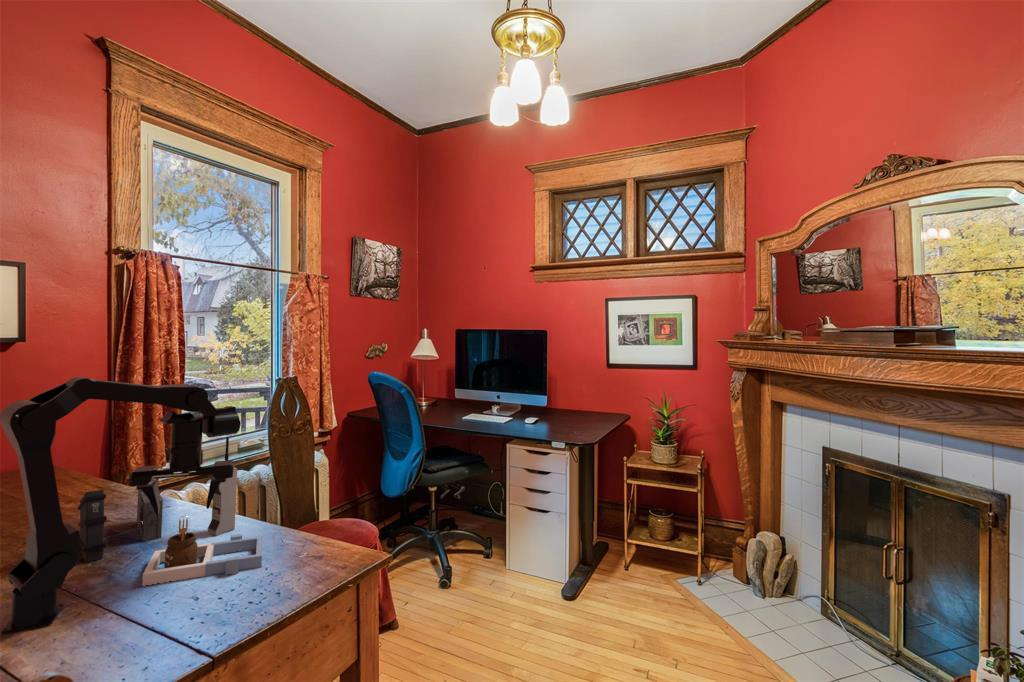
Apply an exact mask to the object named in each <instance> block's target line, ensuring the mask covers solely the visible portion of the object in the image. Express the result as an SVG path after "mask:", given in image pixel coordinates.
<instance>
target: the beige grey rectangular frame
mask: <svg viewBox="0 0 1024 682" xmlns="http://www.w3.org/2000/svg"><path fill="white" fill-rule="evenodd" d="M263 536H264V535H261V536H260V535H259V536H254V537H253V536H252V537H246V538H245V537H244V538H243V533H239V534H238V533H237V534H232V535H230V540H225V541H224V540H223V541H217V542H209V543H203V544H202V543H201V544H197V546H198V551H197V557H198V558H203V561H202V562H197V563H196V564H191V565H184V566H178V567H171V568H165V567H164V568H159V567H160V564H163V563H162V562H164V563H165V551H166V549H160V550H155V551H153V554H152V556H151V558H150V560H149V562H148V564H147V566H146V567H145V570H144V572H143V573H142V587H147V586H146V585H148V586H152V584H154V585H158V584H157V583H160V584H164V583H163V582H166V583H170V582H169V581H172V582H178V581H183V579H184V580H189V578H190V579H195V578H200V577H208V576H214V575H219V574H218V573H221V574H224V575H226V576H229V575H228V574H232V575H235V574H234V573H238V574H239V571H243V570H242V569H245V570H249V569H250V568H251V569H255V568H256V567H257V568H262V562H263V561H262V560H263V541H264V539H263ZM249 549H252V550H255V552H256V553H255V554H251V555H243V556H233V557H232V556H231V557H227V558H225V559H224V558H223V559H217V560H213V559H212V558H214V556H217V554H218V555H223V554H224V553H225V554H230V552H232V553H236V551H238V552H243V551H242V550H245V551H250V550H249ZM225 554H224V555H225ZM203 556H205V557H203ZM157 568H159V569H157ZM251 569H250V570H251ZM238 570H239V571H238ZM224 572H226V573H224ZM213 574H214V575H213ZM177 580H178V581H177Z"/></svg>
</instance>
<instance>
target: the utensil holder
mask: <svg viewBox="0 0 1024 682" xmlns="http://www.w3.org/2000/svg"><path fill="white" fill-rule="evenodd" d="M182 517H183V519H182V520H181V518H182ZM185 517H186V519H185ZM189 521H190V518H189V516H187V515H185V516H184V515H183V516H180V518H178V519H177V522H176V524H178V529H176V531H177V533H176V534H174V535H172V536H169V538H168V540H167V543H166V545H167V547H166V551H165V562H164V569H165V568H171V567H178V566H184V565H191V564H197V563H198V558H197V551H198V546H197V545H198V543H197V535H196V534H195V533H194V532H189V528H190V524H189Z"/></svg>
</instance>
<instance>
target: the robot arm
mask: <svg viewBox="0 0 1024 682" xmlns="http://www.w3.org/2000/svg"><path fill="white" fill-rule="evenodd" d="M88 400H98V401H99V400H100V401H113V402H125V403H126V402H127V403H128V402H129V403H140V404H150V405H151V404H152V405H153V404H154V405H159V406H164V407H168V408H172V409H176V410H179V411H180V410H181V411H185V412H187V413H185V412H184V413H176V412H175V411H172V410H169V411H168V412H167V414H165V415H164V416H163V417H161V418H160V419H159V422H161V423H164V424H167V425H169V424H170V425H171V427H170V447H167V449H166V450H167V451H166V456H165V461H166V462H167V463H169V468H164V469H163V468H161V469H159V467H158V465H144V466H141V465H140V466H137V467H136V468H134V470H132V472H130V474H129V477H128V485H127V486H128V487H136V488H135V489H136V490H137V491H138V490H140V489H141V490H142V491H143V492H144V493H145V495H146V496H147V498H148V499H149V501H150V503H151V505H152V507H153V509H154V511H155V513H156V514H159V509H160V502H159V493H160V491H159V490H160V489H159V483H160V479H168V478H169V479H170V478H184V477H185V478H186V477H193V476H194V477H195V476H208V475H210V476H211V474H212V476H213V477H212V479H211V478H210V483H209V487H208V488H209V489H208V494H207V497H206V498H207V499H206V509H208V510H209V508H210V506H211V504H212V502H213V496H214V494H215V492H216V490H217V488H218V486H219V485H220V483H221V482H226V479H227V478H232V477H233V474H234V467H235V466H236V464H235V462H234V460H233V459H231V460H230V459H228V460H227V461H225V460H216V461H214V463H213V465H205V466H204V465H203V464H204V463H203V462H204V451H203V449H202V447H203V445H202V444H203V435H205V436H206V437H207V438H208V439H209V438H217V437H225V436H231V435H236V434H238V433H239V431H240V429H241V425H242V423H241V420H240V416H239V413H238V412H237V406H233V405H228V406H227V405H226V406H224V407H215V406H214V405H213V403H212V402H211V401H210V400H209V394H208V392H207V390H206V388H204V387H202V386H199V385H193V384H189V383H174V384H172V383H171V384H170V383H169V384H162V385H161V384H160V385H150V384H139V383H131V382H130V383H129V382H121V381H112V380H110V381H109V380H102V379H101V380H100V379H92V378H88V377H84V376H74V377H72V378H70V379H69V380H67V381H65V382H63V383H61V384H60V385H58V386H55V387H52V388H50V389H47V390H45V391H43V392H40V393H39V394H36V395H34V396H32V397H30V398H29V399H23V400H18V401H14V402H12V403H10V404H8V405H6V406H5V407H4V408H3V409H2V410H1V411H0V425H1V427H2V429H3V430H2V431H3V432H4V435H5V436H6V438H7V440H8V441H9V443H10V445H11V446H12V448H13V450H14V451H15V453H16V455H17V461H18V466H19V472H20V478H21V482H22V489H23V495H24V501H25V508H26V512H27V516H28V524H29V531H28V534H27V538H26V541H25V549H24V551H25V552H24V557H23V559H21V560H20V561H19V562H18V563H17V564H16V565H15V566H14V567H13V568H11V569H10V570H9V571H8V572H7V573H6V576H5V577H6V578H7V580H8V581H9V583H10V584H11V585H12V586H13V587H14V588H13V590H12V596H11V614H10V615H11V617H10V620H9V621H8V622H7V623H6V624H5V626H4V627H3V628H2V629H1V630H0V634H3V635H4V634H9V633H14V632H21V631H25V630H32V629H36V628H42V627H48V626H50V625H52V624H53V623H54V622H55V621H56V619H57V617H59V615H60V614H61V612H62V611H63V610H64V608H65V606H66V604H65V603H59V604H58V589H60V588H62V586H63V584H64V582H65V580H66V578H67V576H68V573H69V572H70V571H71V570H72V569H73V568H74V567H75V566H76V565H77V564H78V563H79V559H80V553H82V552H83V551H84V550H83V549H82V548H81V546H80V542H79V541H80V529H79V530H78V529H77V528H76V527H75V526H73V525H71V524H70V523H69V522H67V523H65V524H64V522H63V520H64V519H63V516H62V509H61V502H60V497H59V491H58V486H57V480H56V475H55V467H54V462H53V457H52V456H53V455H52V447H53V444H54V440H55V436H56V429H57V421H59V420H60V419H63V418H64V417H66V416H68V415H69V414H70V413H71V412H73V411H74V410H75V409H76V408H78V407H79V406H80V405H81V404H83V403H85V402H86V401H88ZM192 413H197V414H200V415H194V414H192ZM235 468H236V467H235Z"/></svg>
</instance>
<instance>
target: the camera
mask: <svg viewBox="0 0 1024 682" xmlns="http://www.w3.org/2000/svg"><path fill="white" fill-rule="evenodd" d="M137 492H138V493H137V507H136V508H137V511H136V513H137V514H136V524H138V525H137V528H138V527H139V528H138V530H140V531H139V533H140V532H141V533H140V536H141V535H142V536H141V539H143V540H142V542H146V540H148V541H151V539H153V540H156V539H161V538H162V528H163V526H162V525H163V506H164V505H163V504H164V503H163V502H164V499H163V498H162V496H161V494H160V492H159V502H160V509H159V514H156V513H155V511H154V509H153V507H152V505H151V503H150V501H149V499H148V498H147V496H146V495H145V493H144V492H143V491H142V490H141V489H140V490H137ZM141 521H143V524H142V522H141ZM155 538H156V539H155Z"/></svg>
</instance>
